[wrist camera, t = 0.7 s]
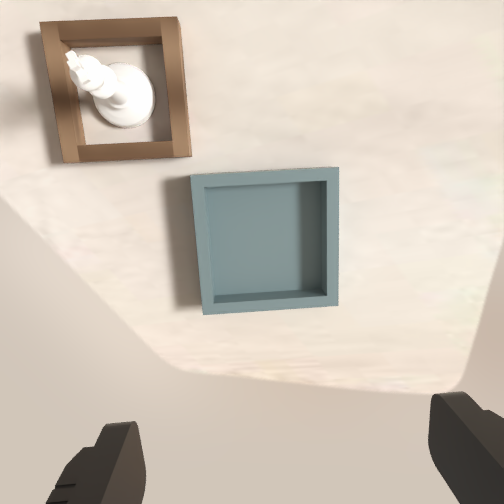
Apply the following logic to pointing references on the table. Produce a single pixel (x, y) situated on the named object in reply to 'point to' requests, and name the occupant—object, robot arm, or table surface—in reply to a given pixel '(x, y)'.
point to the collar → (66, 96)
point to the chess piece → (114, 89)
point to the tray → (267, 239)
